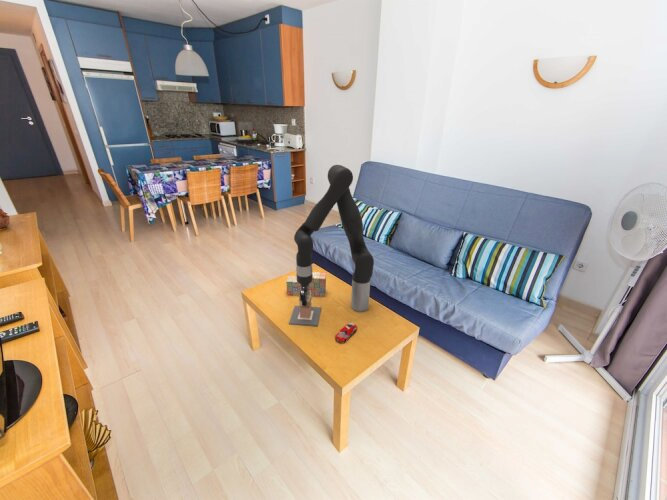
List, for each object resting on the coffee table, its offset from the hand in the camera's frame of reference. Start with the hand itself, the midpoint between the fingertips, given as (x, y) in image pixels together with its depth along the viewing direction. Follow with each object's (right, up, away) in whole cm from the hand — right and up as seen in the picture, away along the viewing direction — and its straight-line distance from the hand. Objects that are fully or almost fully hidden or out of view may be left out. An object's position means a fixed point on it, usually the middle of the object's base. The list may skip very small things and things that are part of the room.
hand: (305, 301), depth 147 cm
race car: (+20, -15, -7) cm, 25 cm away
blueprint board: (0, -8, +4) cm, 9 cm away
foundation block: (0, -7, +4) cm, 8 cm away
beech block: (0, -1, 0) cm, 1 cm away
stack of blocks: (-1, +1, +22) cm, 22 cm away
